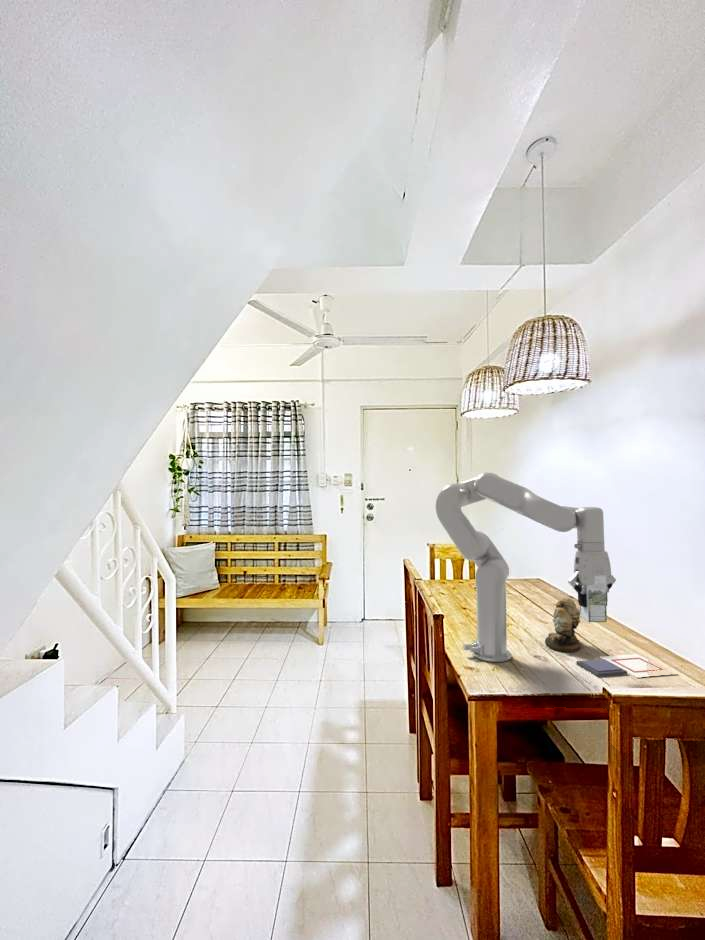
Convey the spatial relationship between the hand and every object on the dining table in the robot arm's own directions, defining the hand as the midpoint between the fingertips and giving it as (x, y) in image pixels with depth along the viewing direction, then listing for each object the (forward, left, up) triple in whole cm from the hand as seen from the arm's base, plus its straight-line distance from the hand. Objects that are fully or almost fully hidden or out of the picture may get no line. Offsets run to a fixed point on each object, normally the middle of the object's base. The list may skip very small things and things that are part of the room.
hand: (592, 605), depth 153 cm
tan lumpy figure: (+5, +23, -20) cm, 31 cm away
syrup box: (0, 0, -5) cm, 5 cm away
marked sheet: (+16, +1, -20) cm, 26 cm away
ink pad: (+3, 0, -20) cm, 20 cm away
